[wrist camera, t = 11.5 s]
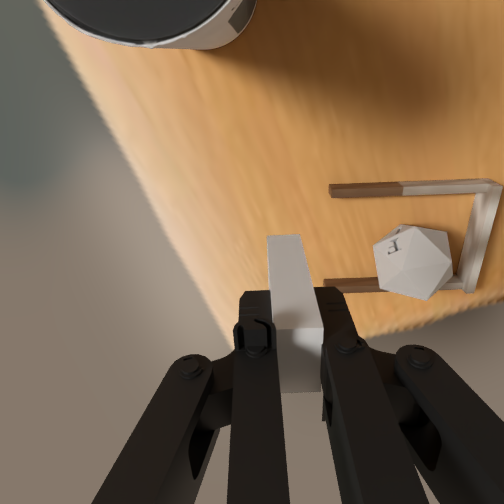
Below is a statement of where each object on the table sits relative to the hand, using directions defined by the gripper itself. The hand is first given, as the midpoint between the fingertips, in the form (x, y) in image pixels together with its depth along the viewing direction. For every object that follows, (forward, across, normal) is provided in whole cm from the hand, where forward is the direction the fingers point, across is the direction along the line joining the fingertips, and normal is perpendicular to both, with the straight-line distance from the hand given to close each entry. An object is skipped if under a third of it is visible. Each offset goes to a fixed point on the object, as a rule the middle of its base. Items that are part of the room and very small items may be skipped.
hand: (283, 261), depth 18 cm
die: (+28, +17, -14) cm, 36 cm away
